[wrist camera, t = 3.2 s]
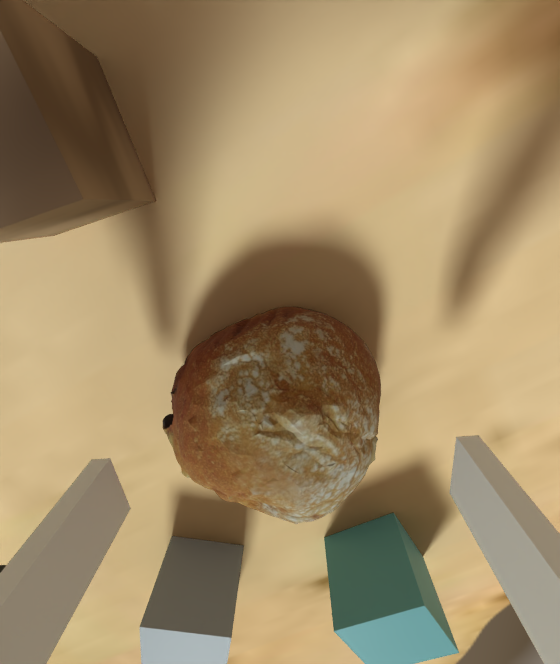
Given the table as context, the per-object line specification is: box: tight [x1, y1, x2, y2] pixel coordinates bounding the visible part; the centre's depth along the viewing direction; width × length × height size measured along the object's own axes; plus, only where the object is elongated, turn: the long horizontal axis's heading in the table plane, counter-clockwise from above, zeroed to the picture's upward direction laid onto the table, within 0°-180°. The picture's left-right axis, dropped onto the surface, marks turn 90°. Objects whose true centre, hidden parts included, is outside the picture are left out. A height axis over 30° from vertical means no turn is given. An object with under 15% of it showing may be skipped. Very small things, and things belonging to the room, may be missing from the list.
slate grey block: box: [140, 536, 244, 664], centre depth 20 cm, size 5×5×5 cm
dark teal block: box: [324, 513, 459, 664], centre depth 19 cm, size 5×5×5 cm
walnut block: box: [0, 0, 156, 243], centre depth 10 cm, size 5×5×5 cm
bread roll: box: [163, 307, 381, 524], centre depth 14 cm, size 10×10×8 cm
